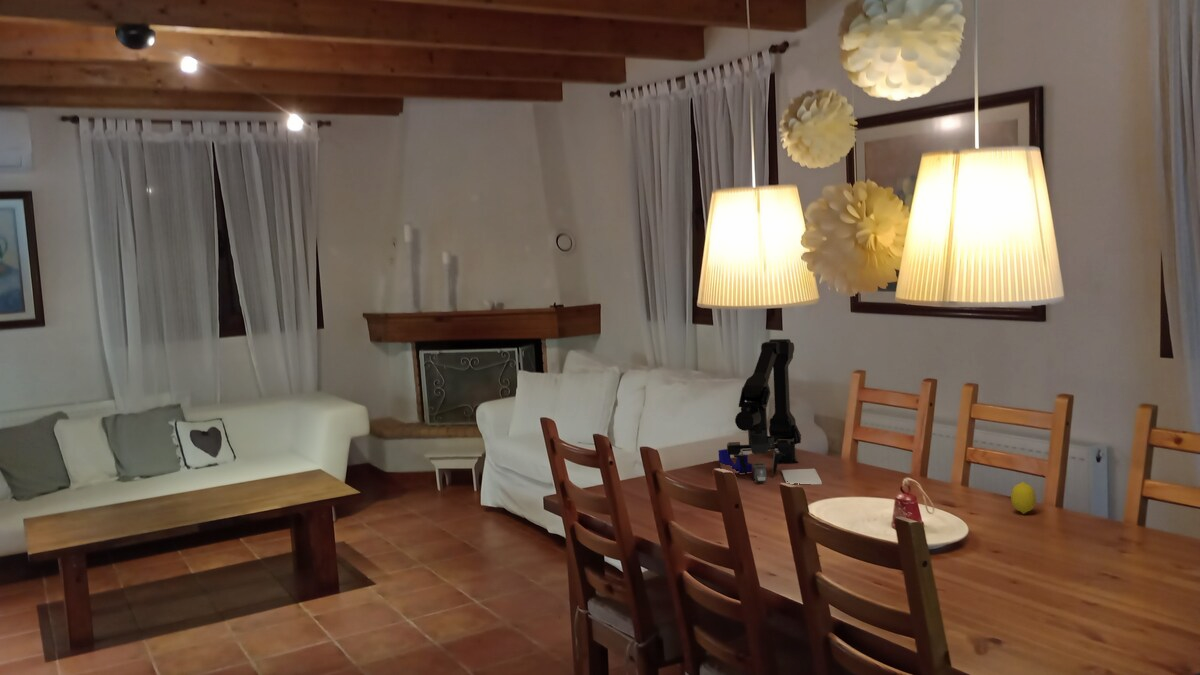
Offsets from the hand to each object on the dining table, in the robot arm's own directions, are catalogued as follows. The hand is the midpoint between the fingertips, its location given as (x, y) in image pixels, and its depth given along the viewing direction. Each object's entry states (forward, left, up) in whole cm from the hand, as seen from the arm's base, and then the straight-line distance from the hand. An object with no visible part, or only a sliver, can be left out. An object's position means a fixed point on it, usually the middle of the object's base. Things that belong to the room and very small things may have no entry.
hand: (760, 475), depth 284 cm
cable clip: (-12, -7, -2) cm, 14 cm away
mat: (+1, +12, -1) cm, 12 cm away
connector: (+2, 0, -1) cm, 2 cm away
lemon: (+46, +61, -1) cm, 76 cm away
